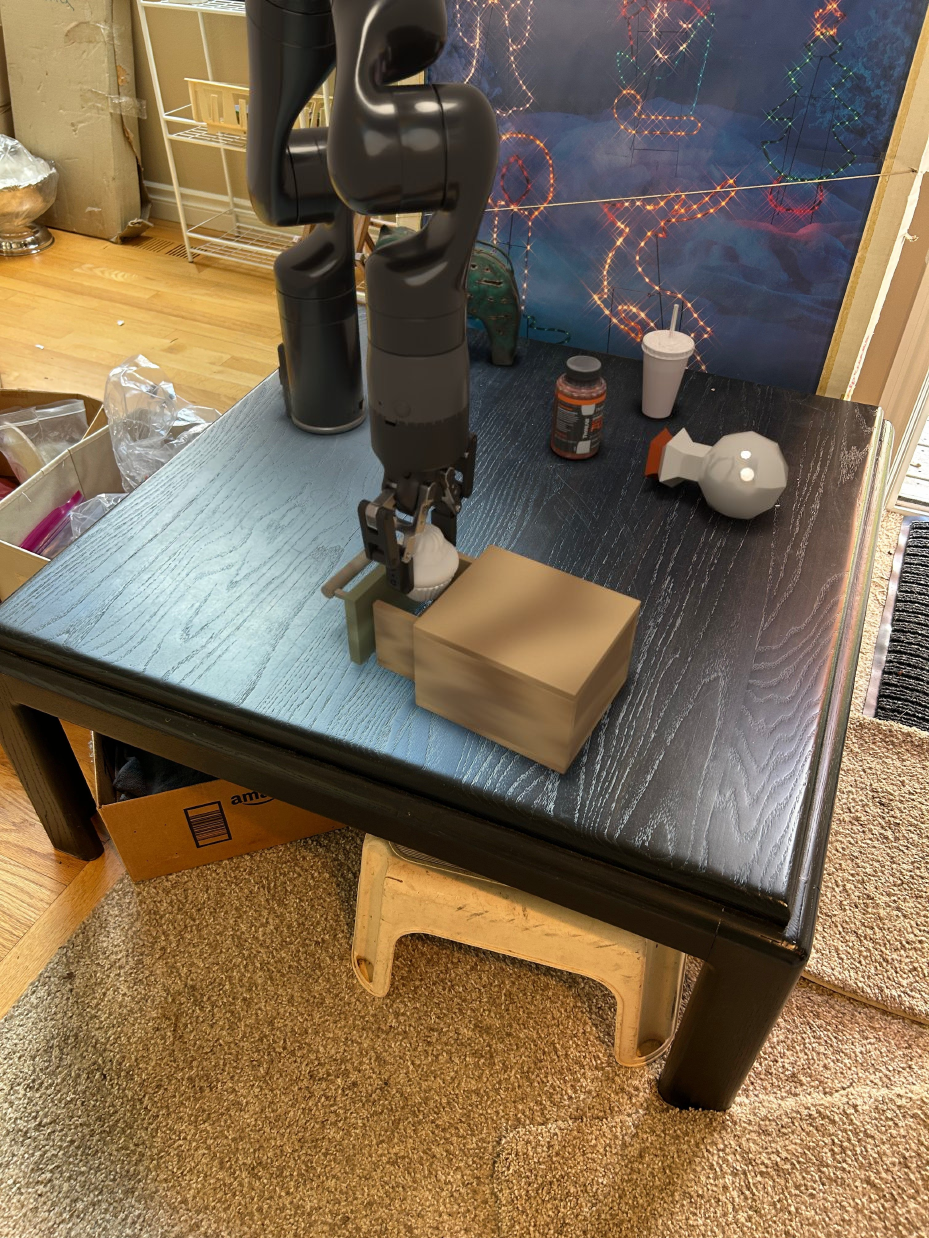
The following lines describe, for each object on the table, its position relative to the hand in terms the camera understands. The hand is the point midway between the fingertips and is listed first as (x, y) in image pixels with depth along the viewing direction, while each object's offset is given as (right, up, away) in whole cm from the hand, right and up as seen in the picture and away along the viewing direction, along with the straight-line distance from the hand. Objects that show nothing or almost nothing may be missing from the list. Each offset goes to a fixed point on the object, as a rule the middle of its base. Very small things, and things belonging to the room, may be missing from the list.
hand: (422, 567), depth 78 cm
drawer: (0, -7, +6) cm, 9 cm away
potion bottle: (+31, +9, +25) cm, 41 cm away
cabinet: (+9, -11, +3) cm, 14 cm away
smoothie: (+29, +23, +40) cm, 54 cm away
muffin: (0, -2, +2) cm, 3 cm away
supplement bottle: (+17, +16, +33) cm, 40 cm away
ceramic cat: (+1, +33, +51) cm, 60 cm away
